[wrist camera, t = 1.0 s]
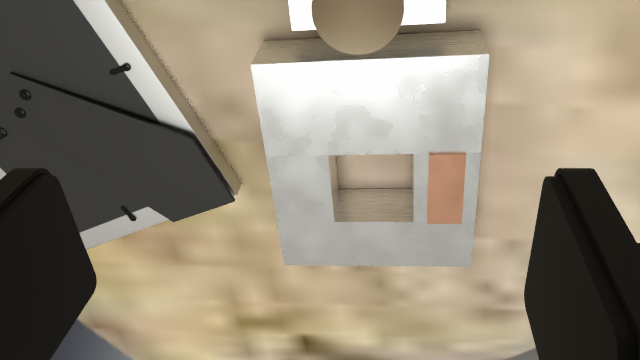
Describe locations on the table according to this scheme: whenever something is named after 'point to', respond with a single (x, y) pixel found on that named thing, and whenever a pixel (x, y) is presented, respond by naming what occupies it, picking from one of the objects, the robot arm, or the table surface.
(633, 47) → the table surface
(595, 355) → the robot arm
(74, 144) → the picture frame
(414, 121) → the block
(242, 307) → the table surface
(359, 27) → the peg
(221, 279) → the table surface
